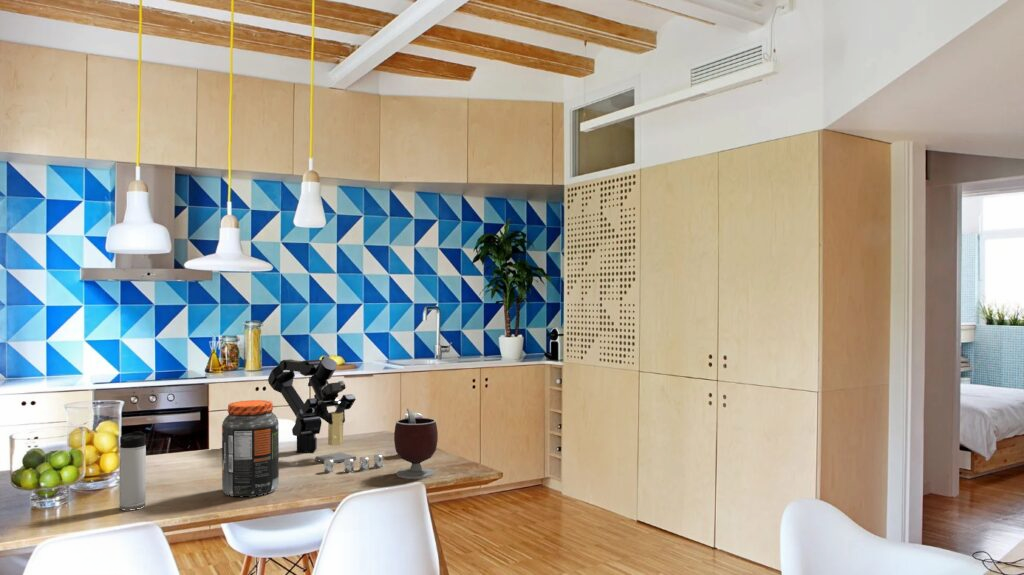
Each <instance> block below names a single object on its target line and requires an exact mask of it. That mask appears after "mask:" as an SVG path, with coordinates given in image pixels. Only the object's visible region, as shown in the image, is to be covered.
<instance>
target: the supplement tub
mask: <svg viewBox="0 0 1024 575" xmlns="http://www.w3.org/2000/svg"><path fill="white" fill-rule="evenodd" d="M273 409H274V404H273V402H272V401H270V400H262V399H257V400H256V399H254V400H253V399H252V400H239V401H235V402H230V403H228V407H227V412H228V415H227V416H225V418H224V420H223V421H222V424H221V476H222V477H221V479H222V480H221V481H222V482H221V483H222V484H221V488H222V492H223V493H224V494H225V495H227V496H229V495H230V497H233V496H240V497H239V498H244V497H243V496H249V497H256V495H258V496H264V495H267V493H268V494H271V493H272V492H274V491H276V490H277V488H278V487H279V481H280V480H279V475H280V474H279V472H280V470H279V460H280V459H279V458H280V457H279V456H280V454H279V450H280V448H279V447H280V446H279V444H280V443H279V438H280V437H279V433H280V432H279V430H280V429H279V420H278V417H277V415H276V414H275V413H274V412H273ZM263 494H264V495H263Z"/></svg>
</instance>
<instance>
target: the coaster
mask: <svg viewBox="0 0 1024 575" xmlns="http://www.w3.org/2000/svg"><path fill="white" fill-rule="evenodd" d="M348 458H352V459H354V461H356V460H357V456H356V455H352V454H348V453H344V452H341V451H340V452H335V453H329V454H328V453H327V454H324V455H318V456H315V460H316V459H317V460H320V461H319V462H321V461H323V462H322V463H324V460H325V459H334V463H337V464H339V463H338V462H343V463H344V459H348ZM317 460H316V461H317Z"/></svg>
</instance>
